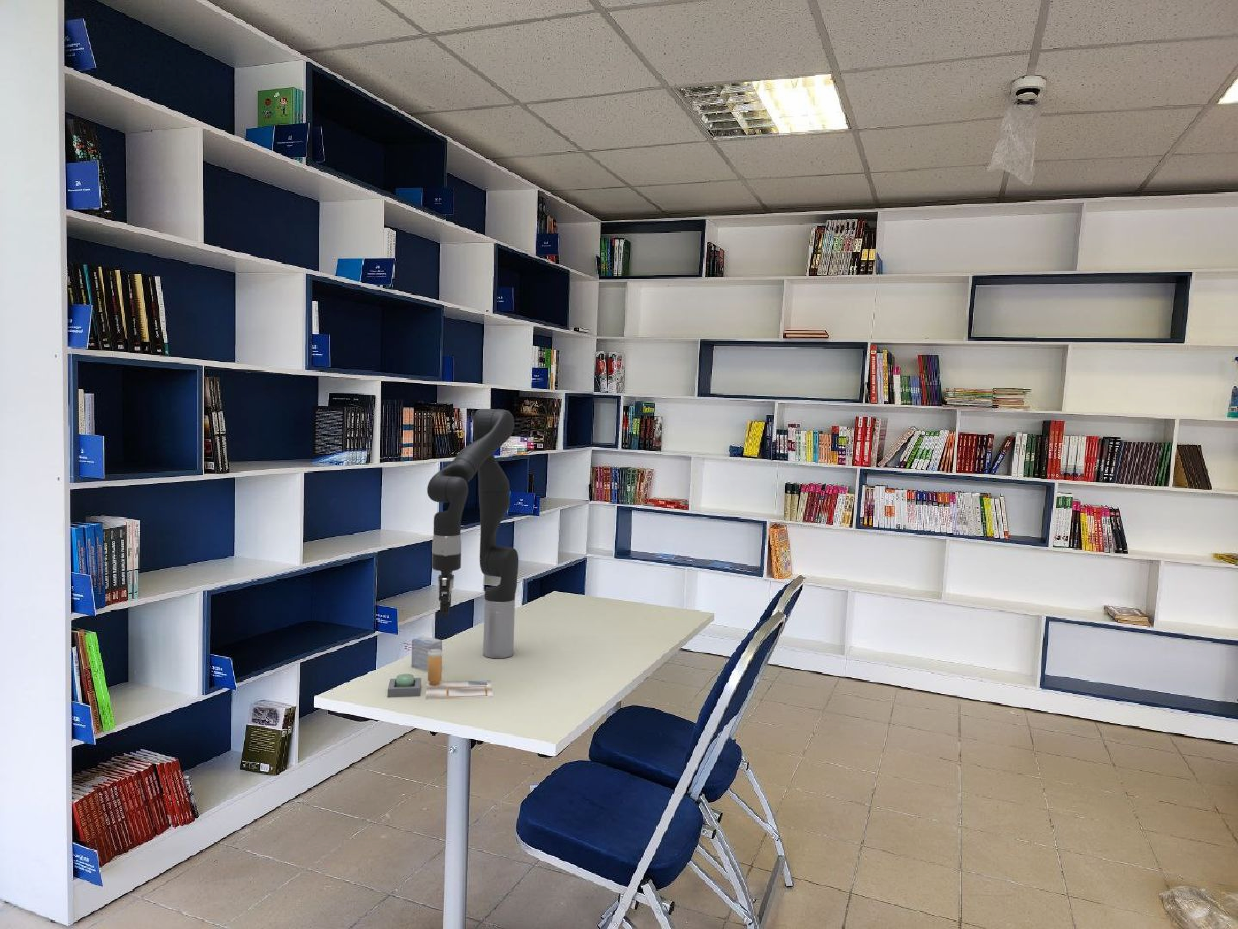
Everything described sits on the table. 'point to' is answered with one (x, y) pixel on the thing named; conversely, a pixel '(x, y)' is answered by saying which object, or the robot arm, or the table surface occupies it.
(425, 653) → the medicine box
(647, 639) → the table surface
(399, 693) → the button housing
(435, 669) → the orange pill bottle
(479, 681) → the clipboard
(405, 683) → the button
